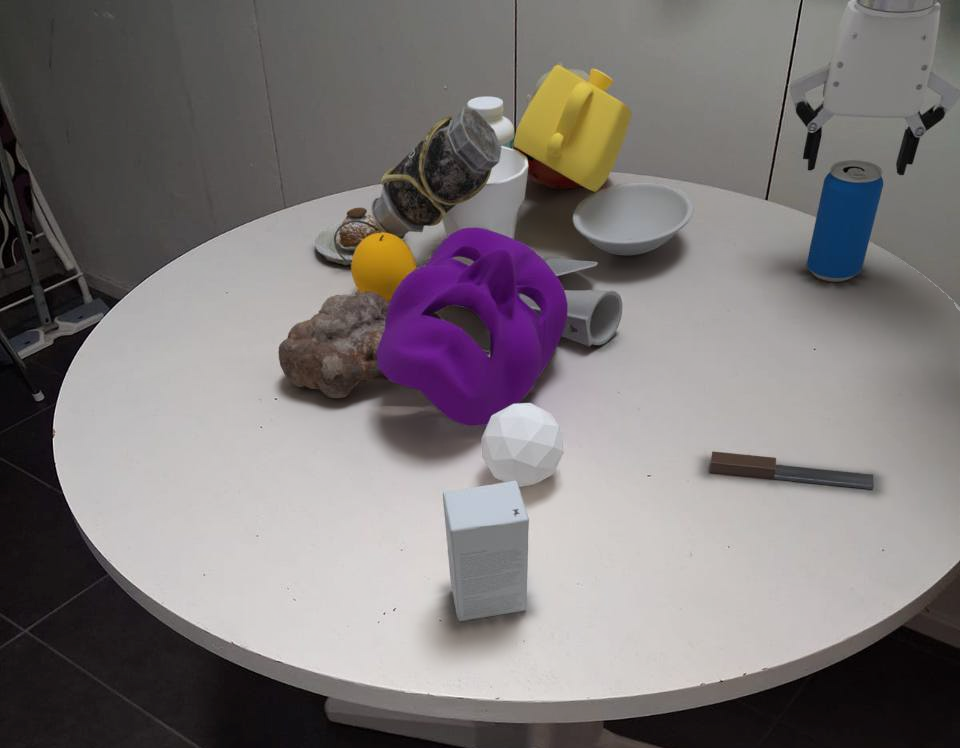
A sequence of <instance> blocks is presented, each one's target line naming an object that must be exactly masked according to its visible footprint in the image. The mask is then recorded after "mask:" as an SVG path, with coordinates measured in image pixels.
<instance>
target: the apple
mask: <svg viewBox="0 0 960 748" xmlns="http://www.w3.org/2000/svg"><path fill="white" fill-rule="evenodd" d="M351 263H352V264H350V271H351V272H350V273H351V277H352V279H353V282H354V285H355V287H356V289H357V291H358V292H359V294H362V293H364V292H367V291H372V292H375V293H377V294H379V295H380V296H381V297H382V298H383V299H384V300H385V301H387V302H388V303H390V300H391V297H392V295H393V293H394V292H395V290H396V289H397V287H398V286H399V284H400V283H401V281H402V280H403V279H404V278H405V277H406V276H407V275H408V274H410V273H411V272H412V271H414V270H416V269H417V264H416V259H415V257H414V254H413V252H412V250H411V248H410V246H409V245H408V244H407V243H406V241H404V239H403V240H402V239H401V238H399V237H398V236H396V235H393V234H390V233H375V234H372V235H370V236H368V237H366V238H365V239H363V240H362V241H361V243H360V244H359V245H358V246H357V248H356V250H355V252H354V255H353V259H352V261H351Z"/></svg>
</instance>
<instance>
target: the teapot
mask: <svg viewBox="0 0 960 748" xmlns="http://www.w3.org/2000/svg"><path fill="white" fill-rule="evenodd" d="M564 68H565V67H564ZM564 68H563V67H561V66H559V64H556V65H554V66H553V68H552V69H551V70H550V71H551V72H550V73H549V75H548V76H547V78H546V79H545V81H544V82H543V84H542V85H541V87H540V88H539V90H538V91H537V93H536V94H535V96H534V95H533V98H532V101H531V103H530V104H529V106H528V105H527V108H526V110H525V111H524V113H523V116H522V117H521V120H520V121H519V123H518V125H517V129H516V131H515V134H514V146H515V147H516V148H518V149H520V150H521V151H523V152H525V153H527V154H528V155H530V156H532V157H533V158H535V159H537V160H539V161H540V162H542V163H544V164H545V165H547V166H549V167H550V168H552V169H554V170H556V171H557V172H559V173H561V174H562V175H564V176H566V177H568V178H569V179H571V180H573V181H574V182H576V183H578V184H580V185H581V186H582V188H583V187H584V188H585V189H587V190H589V191H592V192H593V193H595V192H597V191H600V190H601V188H602V187H603V185H604V184H605V182H606V181H607V180H608V178H609V176H610V174H611V172H612V170H613V168H614V165H615V163H616V161H617V158H618V156H619V153H620V151H621V149H622V146H623V144H624V140H625V137H626V134H627V131H628V128H629V125H630V121H631V118H632V110H631V109H630V107H629V106H628V105H626V104H625V103H624V102H622V101H621V100H619V99H617V98H616V97H614V96H612V95H611V94H609V93H607V92H606V91H607V90H608V89H609V88H610V87H611V86H612V85H613V83H614V80H613V78H611V77H610V76H608V75H607V74H606V73H604V72H603V71H601V70H599V69H596V68H591V69H590V73H589V76H590V78H589V83H588V82H587V81H585V80H583V79H582V78H580V77H578V76H576V75H575V74H573V73H571V72H570V71H568V70H566V69H567V68H566V69H564ZM581 186H580V187H581Z"/></svg>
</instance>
